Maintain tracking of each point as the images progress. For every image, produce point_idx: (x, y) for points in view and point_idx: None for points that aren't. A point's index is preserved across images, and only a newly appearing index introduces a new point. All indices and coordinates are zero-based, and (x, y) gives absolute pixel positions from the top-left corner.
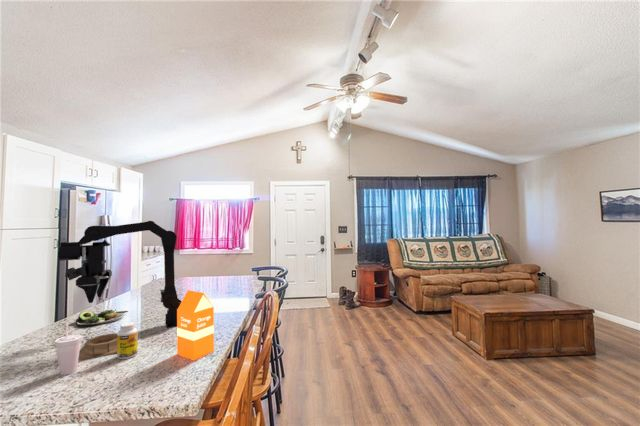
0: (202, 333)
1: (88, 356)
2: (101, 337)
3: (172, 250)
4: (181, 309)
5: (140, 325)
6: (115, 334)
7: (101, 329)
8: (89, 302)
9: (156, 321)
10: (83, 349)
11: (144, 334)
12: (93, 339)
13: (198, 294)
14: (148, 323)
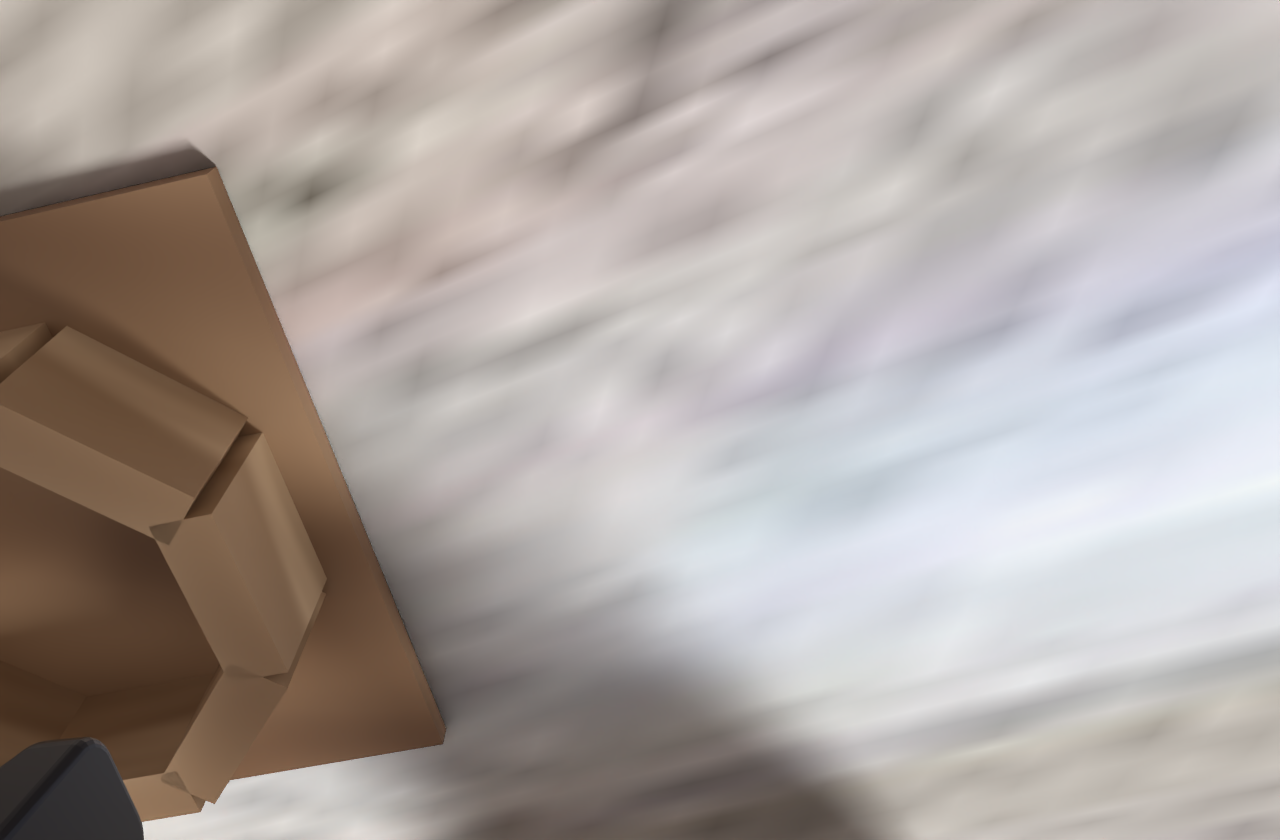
0: None
1: None
2: (166, 531)
3: None
4: None
5: (1130, 668)
6: (215, 723)
7: (1265, 32)
8: (32, 773)
9: (1232, 824)
10: (20, 269)
11: (618, 826)
12: (22, 467)
13: None
14: (1182, 748)
